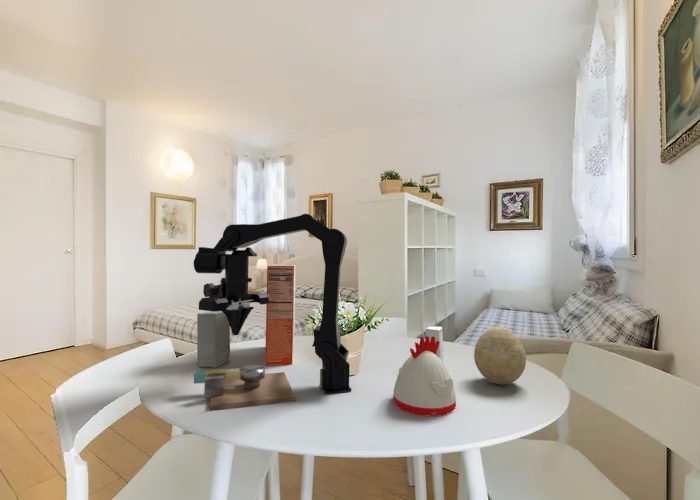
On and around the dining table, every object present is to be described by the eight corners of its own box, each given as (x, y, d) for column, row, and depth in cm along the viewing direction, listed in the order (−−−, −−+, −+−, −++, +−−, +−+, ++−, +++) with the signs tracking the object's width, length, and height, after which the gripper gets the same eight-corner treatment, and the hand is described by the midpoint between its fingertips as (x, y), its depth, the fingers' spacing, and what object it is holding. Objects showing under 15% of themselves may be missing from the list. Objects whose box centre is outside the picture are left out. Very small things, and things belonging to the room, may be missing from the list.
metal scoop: (264, 372, 91) (264, 364, 91) (265, 380, 85) (265, 371, 85) (196, 377, 87) (197, 368, 87) (192, 385, 81) (192, 375, 81)
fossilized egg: (477, 372, 104) (477, 320, 104) (525, 379, 98) (526, 324, 99) (470, 386, 93) (471, 328, 93) (525, 395, 87) (526, 333, 87)
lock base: (283, 374, 100) (283, 356, 100) (294, 400, 82) (295, 378, 82) (208, 380, 94) (208, 361, 94) (202, 411, 75) (203, 387, 76)
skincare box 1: (216, 368, 104) (217, 314, 104) (194, 366, 105) (195, 312, 106) (231, 360, 112) (232, 309, 113) (210, 359, 114) (212, 309, 114)
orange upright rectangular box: (271, 346, 131) (273, 264, 132) (294, 346, 132) (295, 264, 133) (265, 365, 108) (267, 265, 109) (292, 364, 109) (294, 266, 110)
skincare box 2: (440, 372, 104) (440, 330, 104) (424, 370, 106) (425, 328, 106) (443, 366, 109) (443, 326, 110) (428, 364, 111) (429, 325, 112)
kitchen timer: (469, 408, 79) (469, 340, 79) (421, 421, 72) (421, 346, 73) (426, 388, 91) (427, 328, 91) (381, 397, 84) (382, 333, 85)
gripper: (241, 272, 104) (240, 325, 104) (184, 274, 88) (182, 337, 88) (270, 273, 99) (269, 330, 99) (215, 275, 83) (214, 343, 82)
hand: (235, 334), depth 92 cm, fingers closed
